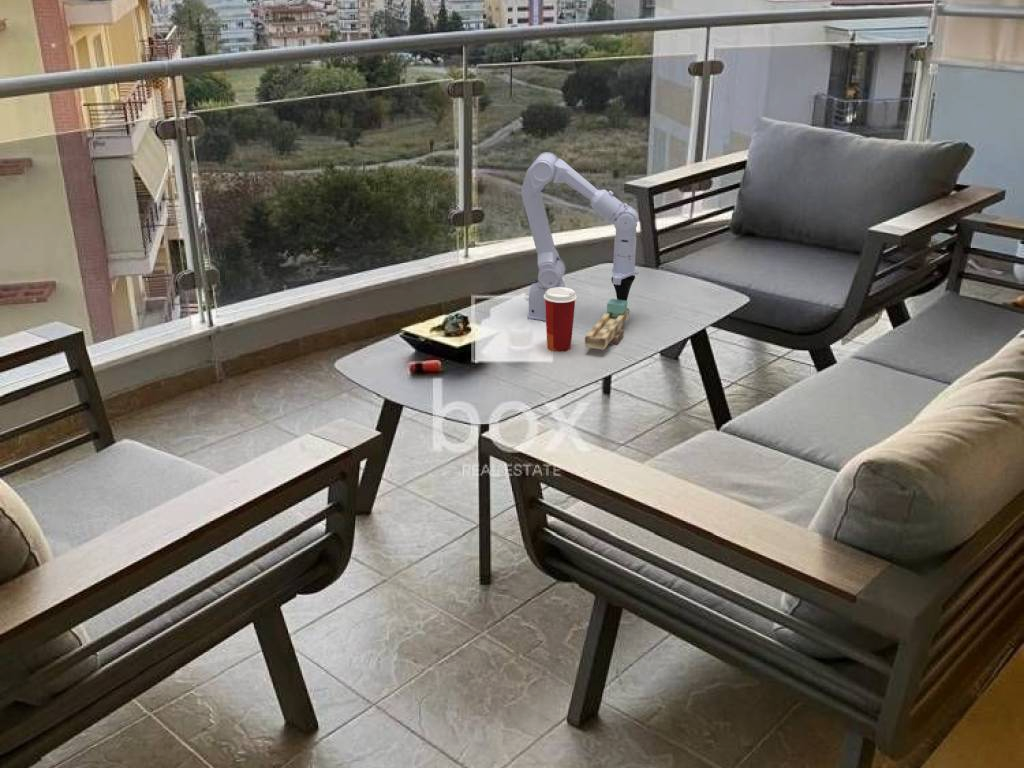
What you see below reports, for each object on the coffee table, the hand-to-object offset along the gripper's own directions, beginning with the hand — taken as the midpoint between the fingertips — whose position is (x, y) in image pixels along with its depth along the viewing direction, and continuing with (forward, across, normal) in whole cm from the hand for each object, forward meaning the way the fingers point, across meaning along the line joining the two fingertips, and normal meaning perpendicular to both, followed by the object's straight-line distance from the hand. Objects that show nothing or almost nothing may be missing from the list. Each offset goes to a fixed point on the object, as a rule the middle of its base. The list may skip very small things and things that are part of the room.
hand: (622, 302), depth 273 cm
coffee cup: (+6, -23, +10) cm, 26 cm away
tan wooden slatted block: (+6, -14, 0) cm, 15 cm away
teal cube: (+2, -5, 0) cm, 5 cm away
